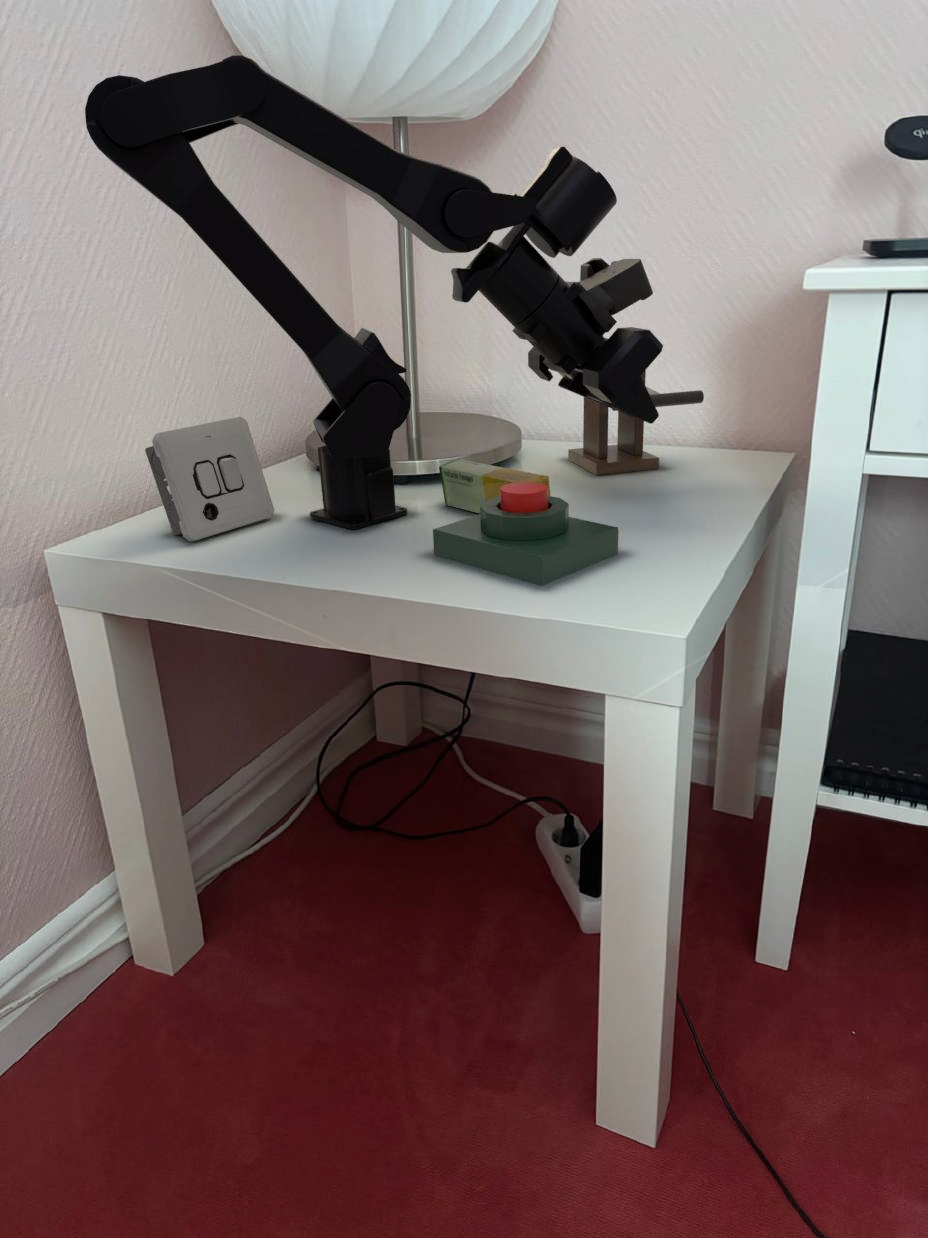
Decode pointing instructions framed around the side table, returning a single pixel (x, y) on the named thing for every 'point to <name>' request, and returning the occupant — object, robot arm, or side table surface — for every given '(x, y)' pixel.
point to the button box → (526, 542)
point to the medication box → (479, 482)
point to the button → (524, 497)
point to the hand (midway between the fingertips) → (646, 416)
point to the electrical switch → (209, 478)
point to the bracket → (611, 457)
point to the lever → (674, 398)
